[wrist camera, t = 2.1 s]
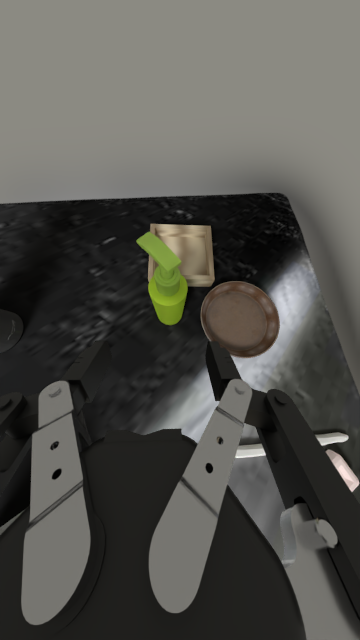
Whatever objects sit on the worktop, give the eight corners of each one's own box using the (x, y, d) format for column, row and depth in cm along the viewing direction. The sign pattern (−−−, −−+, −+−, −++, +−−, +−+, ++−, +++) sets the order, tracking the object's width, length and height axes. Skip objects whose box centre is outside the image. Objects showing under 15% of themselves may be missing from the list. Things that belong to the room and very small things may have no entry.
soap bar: (347, 473, 29) (362, 484, 26) (315, 507, 27) (328, 521, 25) (327, 446, 30) (341, 454, 27) (295, 477, 28) (307, 488, 26)
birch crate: (150, 285, 36) (148, 278, 33) (152, 235, 40) (150, 223, 36) (210, 286, 37) (214, 279, 33) (207, 236, 40) (210, 225, 37)
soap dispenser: (167, 293, 36) (162, 218, 16) (187, 313, 35) (205, 258, 15) (149, 308, 35) (119, 247, 15) (168, 330, 34) (163, 293, 14)
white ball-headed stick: (338, 417, 31) (354, 423, 28) (345, 440, 30) (362, 448, 27) (208, 435, 29) (212, 443, 26) (211, 460, 28) (215, 471, 25)
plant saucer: (210, 277, 38) (213, 270, 35) (276, 299, 37) (285, 294, 34) (188, 342, 33) (190, 341, 30) (263, 369, 33) (273, 370, 30)
